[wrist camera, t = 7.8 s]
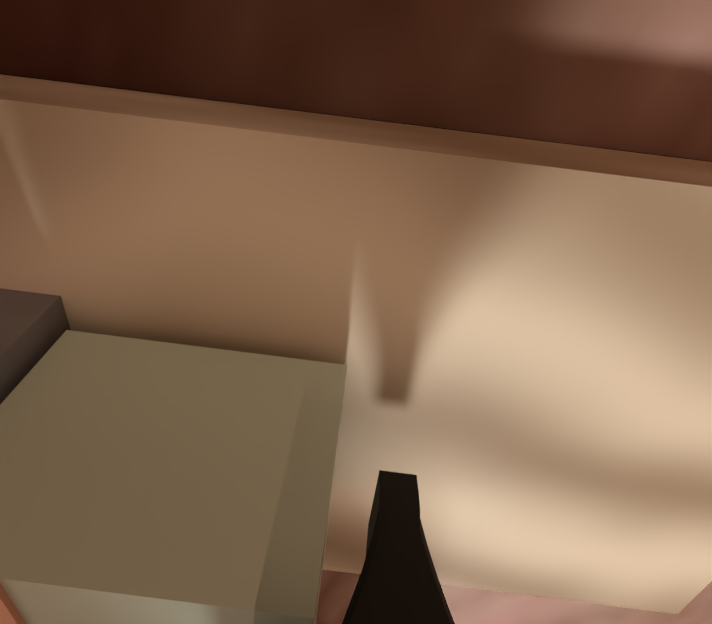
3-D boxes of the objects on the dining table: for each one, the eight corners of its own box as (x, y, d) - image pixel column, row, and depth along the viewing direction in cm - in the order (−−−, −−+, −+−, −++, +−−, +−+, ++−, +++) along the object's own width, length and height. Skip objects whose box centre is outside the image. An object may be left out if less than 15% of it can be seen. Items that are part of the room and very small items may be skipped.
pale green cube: (331, 503, 14) (299, 744, 9) (110, 475, 14) (-18, 703, 9) (347, 364, 11) (313, 625, 7) (66, 329, 11) (-146, 569, 7)
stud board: (658, 569, 18) (765, 828, 13) (40, 491, 18) (-111, 717, 13) (986, 195, 10) (1693, 491, 4) (-154, 55, 10) (-813, 178, 4)
